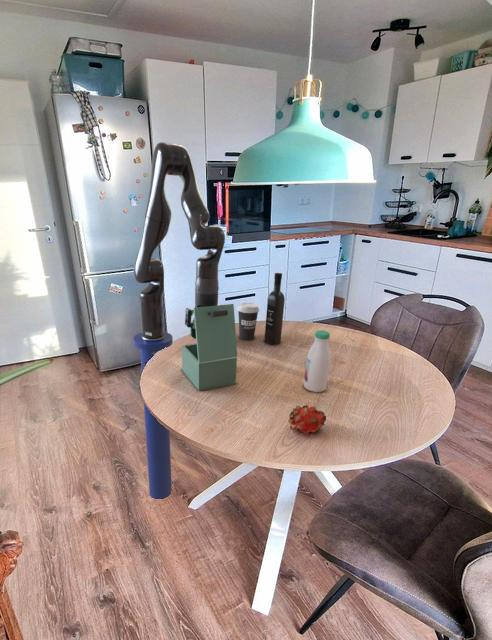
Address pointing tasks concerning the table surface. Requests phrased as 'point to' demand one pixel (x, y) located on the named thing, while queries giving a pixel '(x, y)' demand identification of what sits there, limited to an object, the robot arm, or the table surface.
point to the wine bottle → (274, 313)
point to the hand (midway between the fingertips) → (205, 336)
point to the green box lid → (215, 332)
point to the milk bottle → (318, 363)
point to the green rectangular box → (207, 369)
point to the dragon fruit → (306, 419)
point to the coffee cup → (247, 320)
